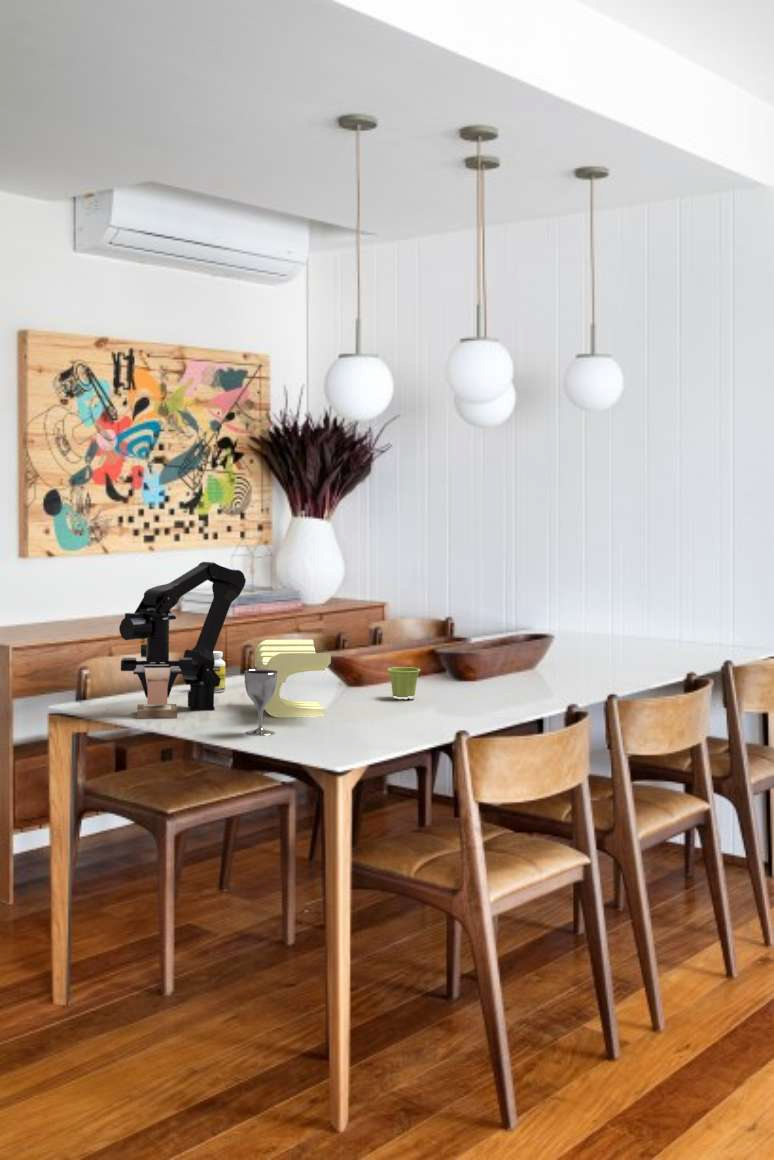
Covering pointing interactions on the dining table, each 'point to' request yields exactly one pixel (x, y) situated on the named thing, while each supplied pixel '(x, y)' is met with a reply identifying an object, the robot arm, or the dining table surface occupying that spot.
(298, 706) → the slatted curved stool
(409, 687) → the plant pot
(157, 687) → the terracotta block
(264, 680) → the wine glass
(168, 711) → the walnut plinth
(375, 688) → the dining table surface
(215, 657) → the pill bottle
